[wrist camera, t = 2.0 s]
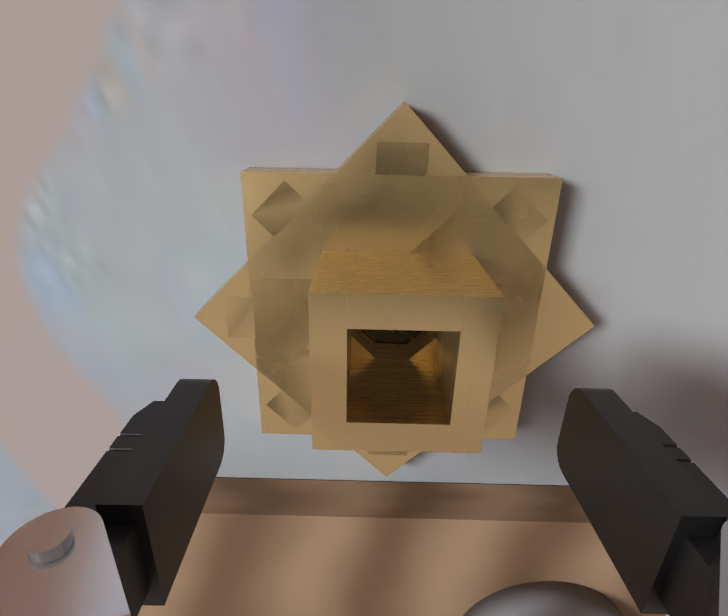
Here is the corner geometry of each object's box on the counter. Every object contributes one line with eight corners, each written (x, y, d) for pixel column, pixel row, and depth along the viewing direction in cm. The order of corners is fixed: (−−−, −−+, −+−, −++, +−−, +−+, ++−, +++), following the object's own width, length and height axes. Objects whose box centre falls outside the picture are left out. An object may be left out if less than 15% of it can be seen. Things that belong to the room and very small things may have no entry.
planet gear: (626, 107, 14) (746, 104, 10) (546, 460, 20) (600, 564, 15) (179, 97, 14) (90, 89, 10) (224, 452, 20) (180, 554, 15)
